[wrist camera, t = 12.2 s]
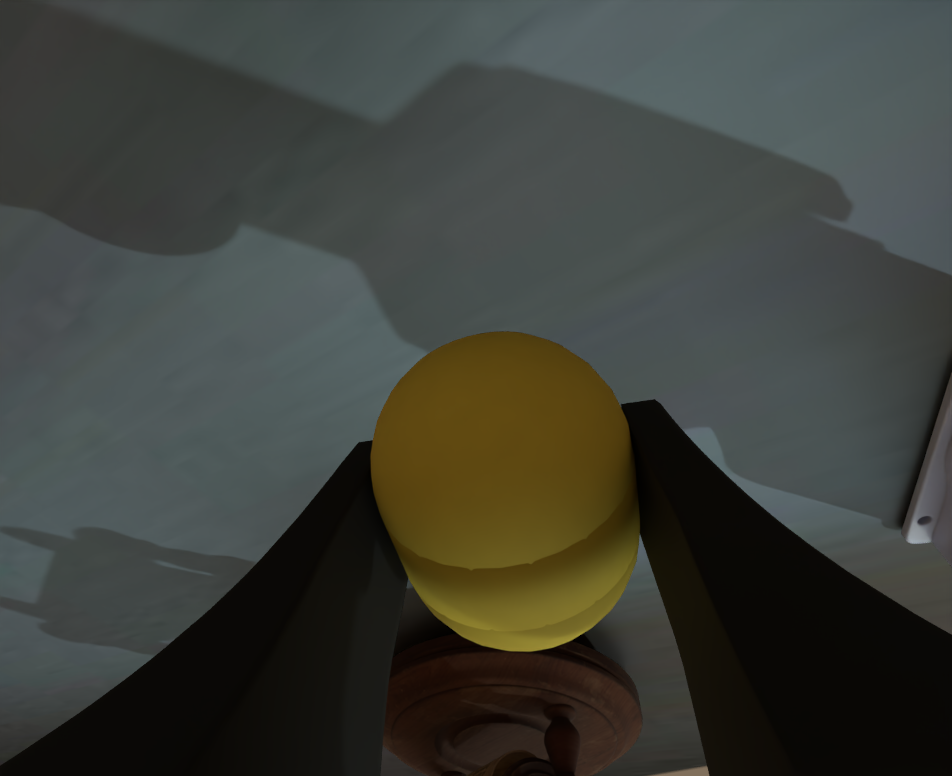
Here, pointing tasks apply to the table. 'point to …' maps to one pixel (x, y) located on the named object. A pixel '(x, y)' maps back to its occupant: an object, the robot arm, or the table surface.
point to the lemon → (509, 489)
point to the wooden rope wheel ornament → (508, 710)
